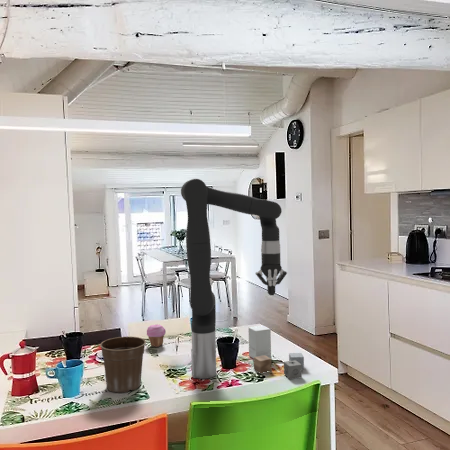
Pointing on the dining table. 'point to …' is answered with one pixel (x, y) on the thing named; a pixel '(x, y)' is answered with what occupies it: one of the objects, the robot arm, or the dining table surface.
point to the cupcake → (156, 334)
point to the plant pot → (123, 363)
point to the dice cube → (293, 369)
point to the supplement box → (259, 341)
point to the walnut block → (262, 363)
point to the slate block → (297, 358)
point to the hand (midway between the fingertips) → (271, 295)
